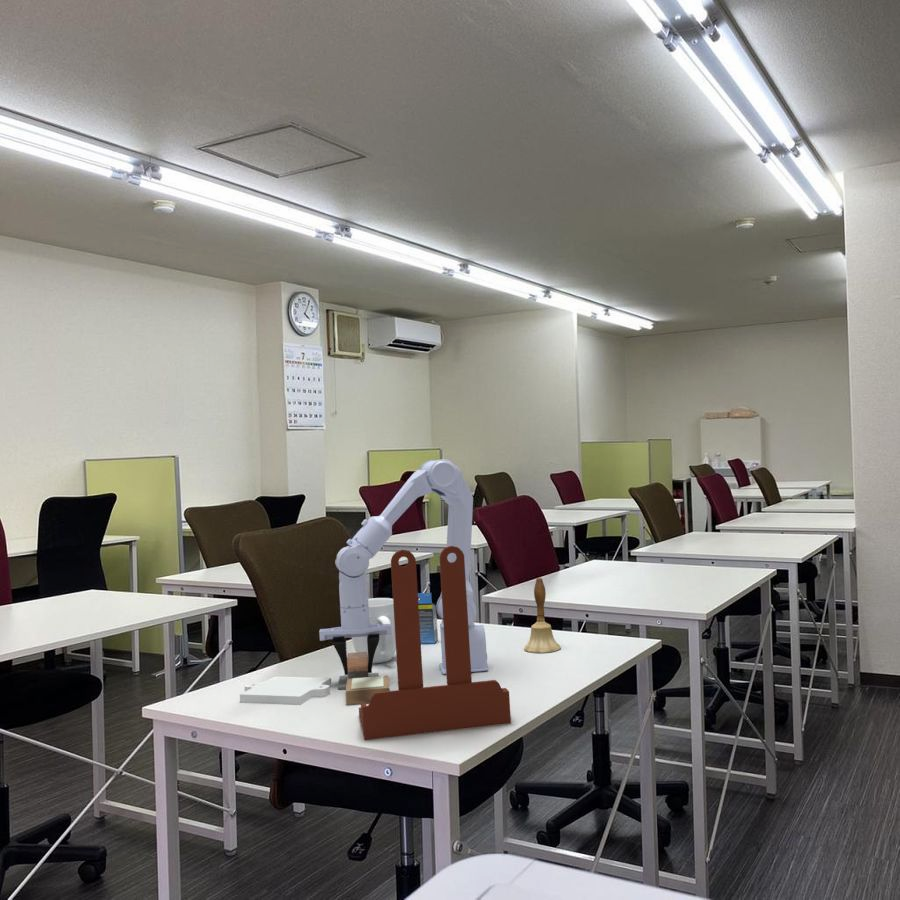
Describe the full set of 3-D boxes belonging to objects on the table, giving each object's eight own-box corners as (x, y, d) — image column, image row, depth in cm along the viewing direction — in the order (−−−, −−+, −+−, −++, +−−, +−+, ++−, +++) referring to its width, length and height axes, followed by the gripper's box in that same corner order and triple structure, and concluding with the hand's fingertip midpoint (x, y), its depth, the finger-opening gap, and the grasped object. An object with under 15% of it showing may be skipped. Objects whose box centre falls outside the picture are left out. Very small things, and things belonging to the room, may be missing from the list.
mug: (415, 664, 184) (412, 604, 184) (368, 672, 179) (364, 610, 179) (389, 652, 197) (386, 595, 197) (345, 659, 192) (341, 602, 192)
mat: (378, 675, 176) (378, 672, 176) (378, 686, 167) (378, 684, 167) (339, 678, 176) (339, 675, 176) (338, 689, 167) (337, 687, 167)
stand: (389, 688, 166) (388, 674, 166) (389, 701, 157) (389, 686, 157) (347, 691, 165) (347, 677, 165) (346, 705, 156) (345, 690, 156)
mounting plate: (343, 687, 170) (342, 678, 170) (312, 707, 157) (312, 696, 157) (264, 685, 175) (263, 676, 175) (228, 704, 163) (228, 694, 163)
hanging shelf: (493, 702, 153) (483, 536, 153) (511, 724, 140) (500, 542, 140) (359, 717, 149) (349, 546, 149) (364, 741, 136) (353, 554, 136)
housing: (368, 675, 175) (367, 651, 175) (368, 682, 169) (367, 657, 169) (349, 676, 174) (347, 652, 174) (348, 684, 168) (346, 659, 168)
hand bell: (537, 643, 197) (533, 575, 197) (568, 647, 192) (563, 576, 192) (516, 651, 191) (512, 580, 191) (547, 655, 185) (542, 582, 185)
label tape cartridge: (438, 640, 207) (435, 590, 207) (434, 644, 203) (431, 592, 203) (403, 640, 209) (400, 590, 209) (399, 644, 205) (396, 593, 205)
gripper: (389, 599, 176) (393, 665, 176) (319, 605, 175) (323, 670, 175) (390, 605, 169) (394, 673, 169) (317, 611, 168) (321, 679, 168)
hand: (358, 672), depth 172 cm, fingers open, 4 cm apart
